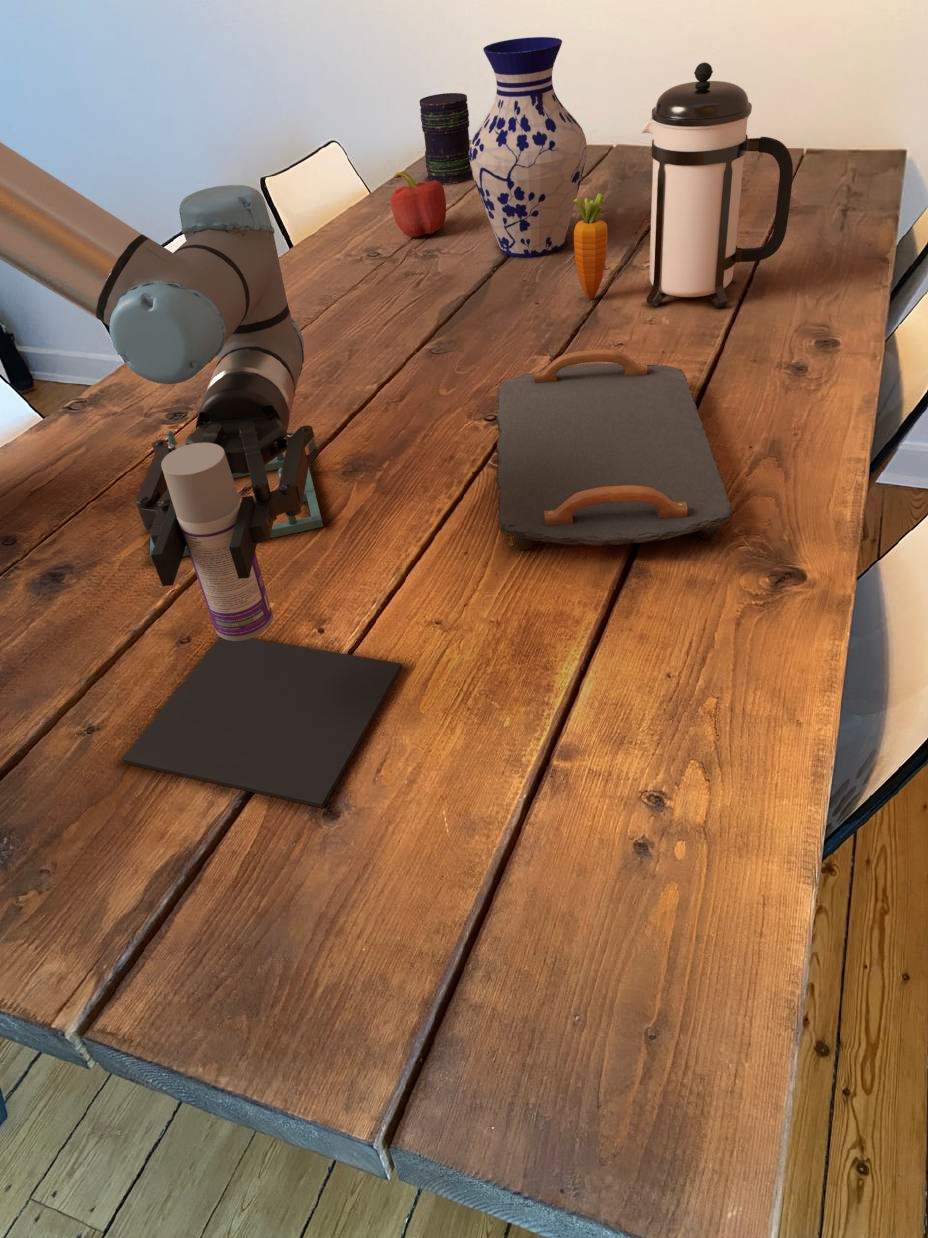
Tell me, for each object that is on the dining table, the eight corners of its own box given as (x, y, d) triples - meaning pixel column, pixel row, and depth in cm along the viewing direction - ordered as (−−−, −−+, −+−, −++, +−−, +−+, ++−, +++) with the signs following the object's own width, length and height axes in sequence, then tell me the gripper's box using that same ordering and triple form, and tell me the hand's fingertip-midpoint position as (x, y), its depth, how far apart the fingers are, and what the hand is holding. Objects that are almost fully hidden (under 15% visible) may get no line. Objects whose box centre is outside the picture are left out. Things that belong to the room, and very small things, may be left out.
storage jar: (463, 184, 195) (456, 103, 185) (420, 184, 198) (411, 104, 188) (480, 170, 202) (474, 92, 192) (437, 170, 205) (430, 93, 195)
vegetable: (380, 235, 174) (372, 178, 168) (423, 220, 179) (416, 163, 173) (419, 246, 167) (411, 186, 161) (461, 229, 172) (456, 171, 166)
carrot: (568, 302, 142) (565, 197, 132) (584, 291, 145) (583, 187, 135) (597, 307, 139) (597, 200, 130) (613, 295, 142) (614, 190, 133)
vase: (531, 221, 173) (522, 29, 154) (610, 239, 161) (612, 35, 142) (454, 252, 164) (434, 53, 144) (532, 274, 152) (523, 61, 133)
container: (228, 602, 78) (176, 440, 68) (281, 605, 77) (236, 441, 67) (205, 639, 74) (147, 474, 65) (261, 643, 73) (210, 476, 64)
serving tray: (740, 557, 90) (747, 502, 86) (497, 572, 92) (492, 518, 88) (679, 377, 120) (682, 330, 116) (496, 390, 121) (493, 344, 117)
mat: (124, 763, 76) (122, 759, 76) (224, 637, 88) (222, 633, 88) (323, 808, 71) (322, 804, 71) (402, 667, 82) (401, 663, 82)
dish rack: (152, 563, 98) (139, 528, 96) (154, 466, 114) (143, 434, 112) (323, 526, 101) (315, 491, 98) (301, 437, 117) (294, 404, 114)
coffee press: (680, 324, 132) (693, 81, 113) (619, 290, 143) (622, 64, 124) (782, 295, 136) (811, 57, 117) (715, 264, 148) (732, 43, 129)
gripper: (353, 438, 86) (337, 596, 68) (160, 457, 86) (93, 620, 68) (339, 360, 81) (317, 508, 63) (134, 381, 81) (54, 534, 63)
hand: (200, 566), depth 66 cm, fingers closed on container, 5 cm apart
